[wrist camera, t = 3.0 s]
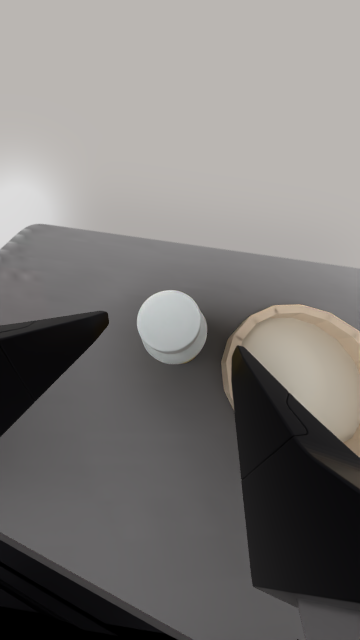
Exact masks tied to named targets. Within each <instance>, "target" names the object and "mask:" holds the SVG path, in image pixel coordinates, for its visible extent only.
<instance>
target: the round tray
mask: <svg viewBox="0 0 360 640" xmlns="http://www.w3.org/2000/svg"><path fill="white" fill-rule="evenodd" d="M237 345H239V346H243V347H245V348H246V349H247V350H248V351H249V352H250V353H251V354H252V355H253V356H254V357H255V358H256V359H257V360H258V361H259V362H260V363H261V364H262V365H263V366H264V367H265V368H266V369H267V370H268V371H269V372H270V373H271V374H272V375H273V376H274V377H275V378H276V379H277V380H278V381H279V382H280V383H281V384H282V385H283V386H284V387H285V388H286V389H287V390H288V391H289V393H291V394H292V395H293V396H294V397H295V398H296V399H297V400H298V401H299V402H300V403H301V404H302V405H303V406H304V407H305V408H306V409H307V410H308V411H309V412H310V413H311V414H312V415H313V416H314V417H315V418H317V419H318V420H319V421H320V422H321V423H322V424H323V425H324V426H325V427H326V428H327V429H329V430H330V431H331V432H332V433H333V434H334V435H335V436H336V437H337V438H339V439H340V440H341V441H342V442H343V443H344V444H345V445H346V446H347V447H348V448H350V449H351V450H352V451H353V452H354V453H355V454H356V455H357V456H358V457H360V332H359V331H358V330H357V329H355V328H353V327H352V326H350V325H349V324H347V323H346V322H344V321H342V320H341V319H339V318H338V317H336V316H335V315H333V314H331V313H329V312H326V311H322V310H319V309H315V308H312V307H308V306H305V305H302V304H297V305H273V306H271V307H269V308H267V309H265V310H262V311H260V312H258V313H256V314H253V315H251V316H250V317H248V318H247V319H246V320H244V321H243V322H242V323H241V324H240V326H239V327H238V328H237V329H236V330H235V331H234V332H233V334H232V335H231V336H230V337H229V338H228V340H227V343H226V347H225V350H224V354H223V357H222V360H221V367H222V377H223V386H224V391H225V393H226V395H227V398H228V400H229V402H230V404H231V406H232V408H233V410H234V403H233V393H232V383H231V366H232V355H233V352H234V350H235V348H236V346H237Z"/></svg>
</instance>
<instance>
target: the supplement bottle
mask: <svg viewBox="0 0 360 640" xmlns="http://www.w3.org/2000/svg"><path fill="white" fill-rule="evenodd" d="M137 328H138V332H139V334H140V336H141V338H142V342H143V344H144V346H145V348H146V350H147V351H148V353H149V354H150V355H151V356H152V357H154V358H155V359H157V360H158V361H161V362H163V363H166V364H184V363H187V362H189V361H191V360H192V359H194V358H195V357H196V356H197V354H198V353H199V352H200V351H201V349H202V348H203V346H204V344H205V341H206V338H207V324H206V320H205V318H204V316H203V314H202V312H201V311H200V310H199V307H198V305H197V304H196V302H195V301H194V300H193V299H192V298H191V297H190V296H188V295H187V294H185V293H183V292H180V291H175V290H166V291H161V292H158V293H156V294H154V295H152V296H151V297H149V298H148V299H147V300H146V301H145V302H144V304H143V305H142V306H141V308H140V310H139V313H138V317H137Z"/></svg>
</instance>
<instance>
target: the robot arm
mask: <svg viewBox="0 0 360 640" xmlns="http://www.w3.org/2000/svg"><path fill="white" fill-rule="evenodd" d="M108 324H109V318H108V313H107V312H105V311H96V312H89V313H83V314H76V315H70V316H63V317H56V318H50V319H43V320H37V321H30V322H23V323H16V324H9V325H1V326H0V437H1V436H2V435H3V434H4V433H5V432H6V431H7V430H8V429H9V428H10V427H11V426H12V425H13V424H14V423H15V422H16V421H17V420H18V419H19V418H20V417H21V416H22V415H23V414H24V413H25V411H26V410H27V409H28V408H29V407H30V406H31V405H32V404H33V403H34V402H35V401H36V400H37V399H38V398H39V397H40V396H41V395H42V394H43V393H44V392H45V391H46V390H47V389H48V388H49V387H50V386H51V385H52V384H53V383H54V382H55V381H56V380H57V379H58V378H59V377H60V376H61V375H62V374H63V373H64V372H65V371H66V370H67V369H68V368H69V367H70V366H71V365H72V364H73V363H74V362H75V361H76V360H77V359H78V358H79V357H80V356H81V355H82V354H83V353H84V352H85V351H86V350H87V349H88V348H89V347H90V346H91V345H92V344H93V343H94V342H95V341H96V339H97V338H98V337H99V336H100V335H101V333H102V332H103V331H104V330H105V328H106V327H107V326H108ZM231 383H232V393H233V403H234V413H235V422H236V432H237V441H238V451H239V461H240V470H241V479H242V491H243V500H244V510H245V520H246V529H247V539H248V549H249V558H250V568H251V577H252V584H253V587H255V588H257V589H259V590H261V591H263V592H265V593H267V594H270V595H272V596H274V597H276V598H278V599H280V600H282V601H284V602H286V603H288V604H291V605H293V606H295V607H297V608H298V609H299V613H300V618H301V622H302V626H303V631H304V635H305V640H360V457H358V456H357V455H356V454H355V453H354V452H353V451H352V450H351V449H350V448H348V447H347V446H346V445H345V444H344V443H343V442H342V441H341V440H340V439H339V438H337V437H336V436H335V435H334V434H333V433H332V432H331V431H330V430H329V429H327V428H326V427H325V426H324V425H323V424H322V423H321V422H320V421H319V420H318V419H317V418H315V417H314V416H313V415H312V414H311V413H310V412H309V411H308V410H307V409H306V408H305V407H304V406H303V405H302V404H301V403H300V402H299V401H298V400H297V399H296V398H295V397H294V396H293V395H292V394H291V393H289V391H288V390H287V389H286V388H285V387H284V386H283V385H282V384H281V383H280V382H279V381H278V380H277V379H276V378H275V377H274V376H273V375H272V374H271V373H270V372H269V371H268V370H267V369H266V368H265V367H264V366H263V365H262V364H261V363H260V362H259V361H258V360H257V359H256V358H255V357H254V356H253V355H252V354H251V353H250V352H249V351H248V350H247V349H246V348H245V347H243V346H239V345H237V346H236V348H235V350H234V352H233V355H232V366H231ZM0 640H193V639H191V638H189V637H187V636H186V635H184V634H182V633H180V632H178V631H177V630H175V629H173V628H171V627H169V626H168V625H166V624H164V623H162V622H160V621H159V620H157V619H155V618H153V617H151V616H150V615H148V614H146V613H144V612H142V611H141V610H139V609H137V608H135V607H133V606H132V605H130V604H128V603H126V602H124V601H123V600H121V599H119V598H117V597H116V596H114V595H112V594H110V593H108V592H107V591H105V590H103V589H101V588H99V587H98V586H96V585H94V584H92V583H90V582H89V581H87V580H85V579H83V578H81V577H80V576H78V575H76V574H74V573H72V572H71V571H69V570H67V569H65V568H63V567H62V566H60V565H58V564H56V563H54V562H53V561H51V560H49V559H47V558H45V557H44V556H42V555H40V554H38V553H36V552H35V551H33V550H31V549H29V548H27V547H26V546H24V545H22V544H20V543H18V542H17V541H15V540H13V539H11V538H9V537H8V536H6V535H4V534H2V533H0ZM297 640H298V639H297Z"/></svg>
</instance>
